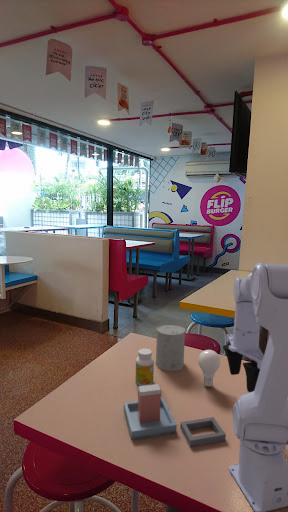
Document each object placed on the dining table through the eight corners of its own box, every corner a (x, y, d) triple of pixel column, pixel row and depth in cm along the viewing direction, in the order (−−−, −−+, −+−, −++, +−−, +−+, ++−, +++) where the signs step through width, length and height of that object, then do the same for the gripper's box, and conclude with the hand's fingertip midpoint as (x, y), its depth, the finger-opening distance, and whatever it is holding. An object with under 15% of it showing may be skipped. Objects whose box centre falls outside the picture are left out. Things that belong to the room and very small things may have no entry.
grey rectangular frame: (225, 440, 67) (225, 434, 67) (189, 446, 65) (190, 440, 65) (213, 422, 73) (213, 417, 73) (180, 427, 71) (180, 422, 71)
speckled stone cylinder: (152, 368, 99) (153, 332, 97) (159, 355, 108) (160, 322, 106) (181, 373, 96) (182, 336, 94) (185, 359, 105) (187, 326, 103)
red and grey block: (160, 420, 73) (160, 389, 72) (139, 423, 72) (140, 392, 71) (157, 413, 75) (157, 383, 74) (137, 416, 74) (138, 386, 73)
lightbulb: (219, 393, 85) (221, 357, 84) (196, 390, 86) (198, 354, 85) (218, 381, 91) (220, 347, 90) (197, 378, 93) (199, 345, 91)
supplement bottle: (132, 383, 89) (132, 352, 88) (140, 375, 94) (141, 345, 93) (148, 388, 87) (149, 357, 86) (156, 379, 92) (157, 349, 90)
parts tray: (176, 432, 70) (176, 424, 69) (131, 439, 67) (131, 431, 67) (163, 404, 80) (163, 397, 80) (123, 409, 77) (123, 402, 77)
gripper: (216, 318, 77) (214, 368, 78) (249, 342, 63) (244, 402, 64) (241, 317, 78) (238, 366, 80) (278, 339, 64) (273, 398, 66)
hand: (242, 382), depth 72 cm, fingers open, 7 cm apart
